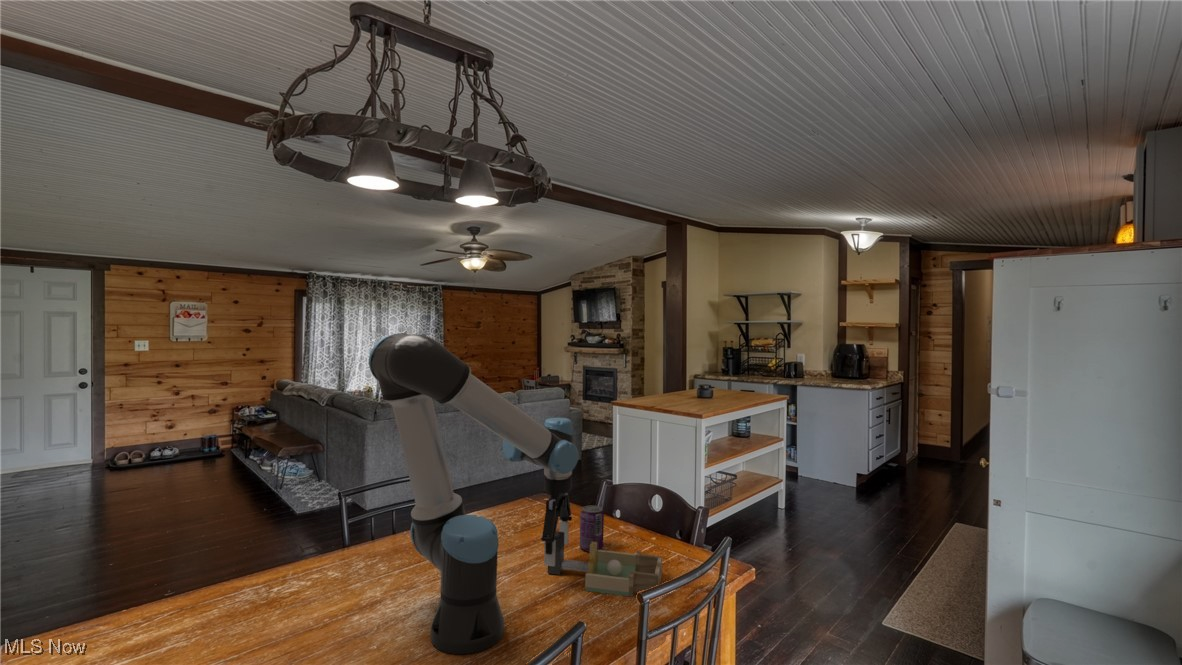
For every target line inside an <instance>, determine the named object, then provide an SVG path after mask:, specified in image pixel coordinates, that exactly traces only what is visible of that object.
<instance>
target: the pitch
mask: <svg viewBox="0 0 1182 665" xmlns="http://www.w3.org/2000/svg"><path fill="white" fill-rule="evenodd" d="M597 554H598V568H597V570H596V572H595V574H590V573H588V572H586V573H585V577H584V579H585V580H584V581H585V584H584V585H585V586H584V590H585V592H593V593H601V594H608V595H616V596H624V597H630V596H629V575H630V572H631V571H635V570H636V553H630V552H623V551H622V552H621V551H613V550H603V549H600V550H598V551H597ZM611 560H617V561H619V562H620V563H621V565H622V571H621V573H620V574H619V575H618V576H611V575H610V574H609V573H608V571H607V564H608V563H609V562H610V561H611Z"/></svg>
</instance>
